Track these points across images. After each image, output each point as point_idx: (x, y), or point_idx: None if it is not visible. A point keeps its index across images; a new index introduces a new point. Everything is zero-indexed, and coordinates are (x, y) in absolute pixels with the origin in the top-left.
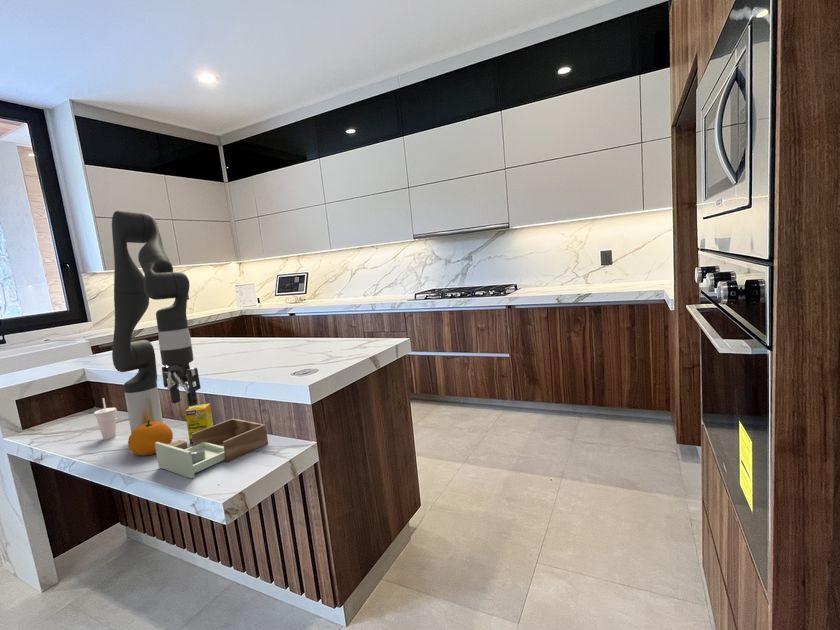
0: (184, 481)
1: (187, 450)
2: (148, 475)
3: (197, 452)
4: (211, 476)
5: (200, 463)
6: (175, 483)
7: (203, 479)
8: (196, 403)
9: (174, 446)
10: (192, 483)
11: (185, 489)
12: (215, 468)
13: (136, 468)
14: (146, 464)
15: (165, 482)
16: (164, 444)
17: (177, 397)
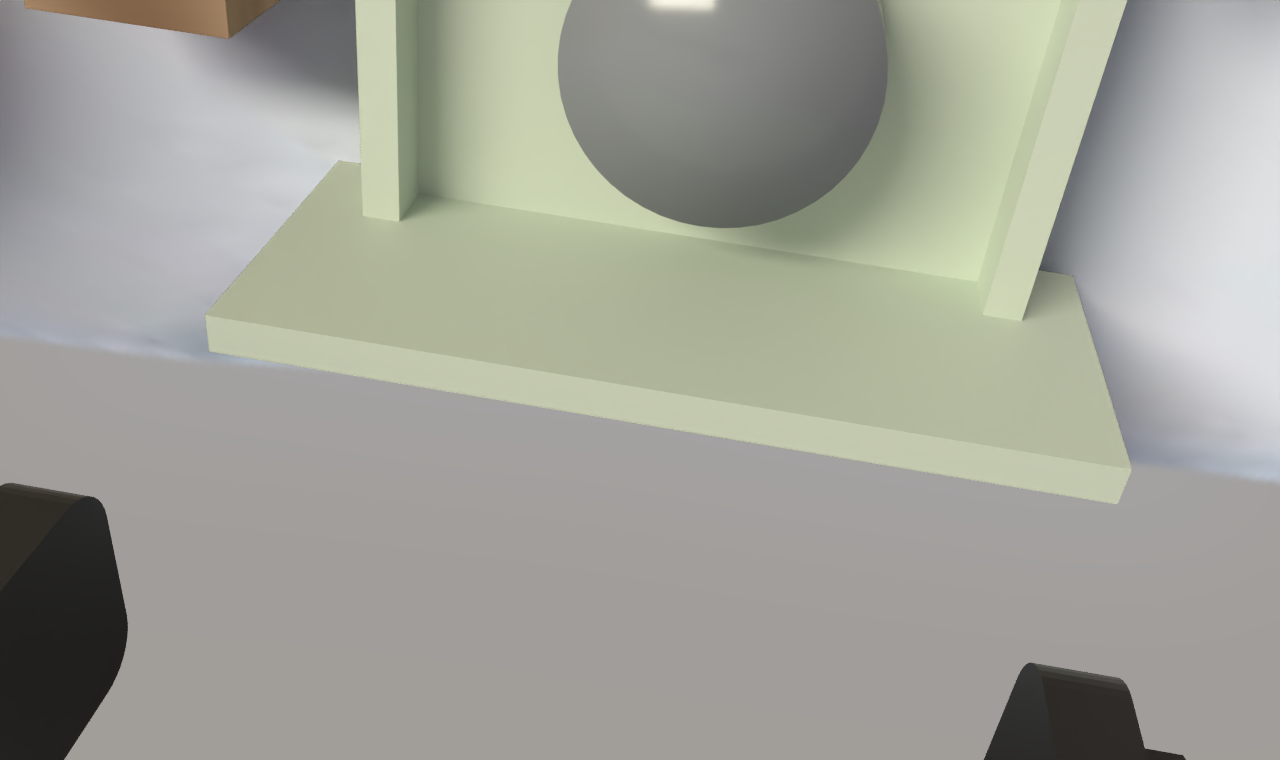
0: None
1: (1045, 457)
2: None
3: (807, 59)
4: (1268, 189)
5: (1057, 197)
6: None
7: (1212, 264)
8: (1122, 709)
9: (224, 13)
10: (1142, 353)
11: (1165, 450)
12: (1153, 10)
13: (105, 250)
14: (90, 155)
15: None
16: (426, 363)
17: (29, 651)
